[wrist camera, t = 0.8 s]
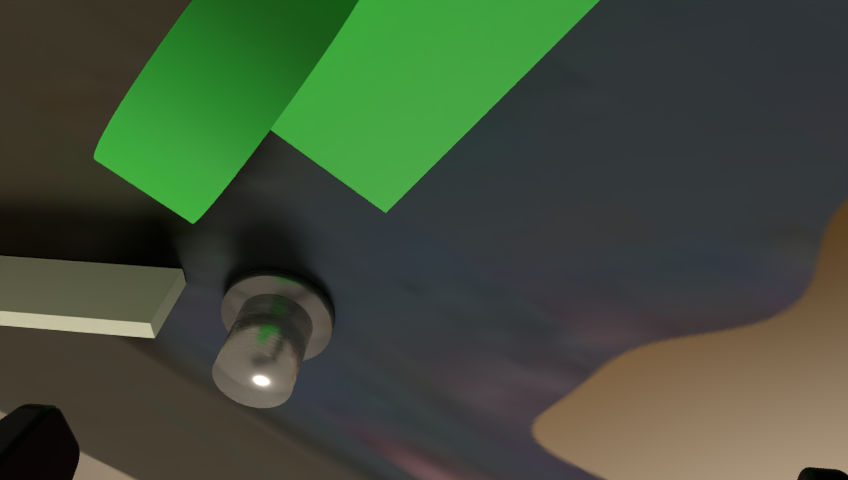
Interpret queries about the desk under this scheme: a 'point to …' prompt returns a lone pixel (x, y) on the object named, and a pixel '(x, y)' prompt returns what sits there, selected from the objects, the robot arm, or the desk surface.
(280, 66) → the mechanical part
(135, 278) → the white u-shaped handle
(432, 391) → the desk surface
